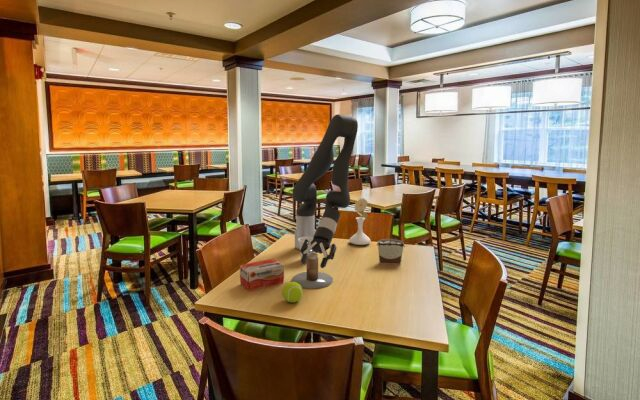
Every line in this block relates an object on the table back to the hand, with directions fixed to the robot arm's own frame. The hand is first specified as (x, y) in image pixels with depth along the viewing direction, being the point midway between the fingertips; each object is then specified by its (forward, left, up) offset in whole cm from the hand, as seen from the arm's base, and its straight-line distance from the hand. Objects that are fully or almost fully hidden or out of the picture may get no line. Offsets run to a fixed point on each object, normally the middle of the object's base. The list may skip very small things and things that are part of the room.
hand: (312, 265), depth 153 cm
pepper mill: (0, 0, -5) cm, 5 cm away
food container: (+20, +37, -6) cm, 42 cm away
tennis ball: (+3, -20, -6) cm, 22 cm away
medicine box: (-15, -12, -7) cm, 21 cm away
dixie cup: (-14, +21, -6) cm, 26 cm away
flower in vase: (-2, +57, -6) cm, 57 cm away
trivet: (0, 0, -6) cm, 6 cm away
